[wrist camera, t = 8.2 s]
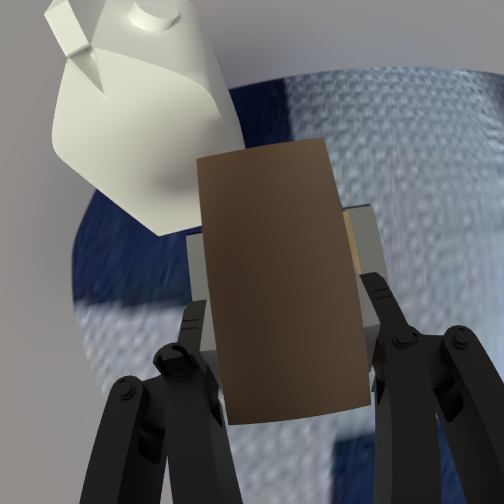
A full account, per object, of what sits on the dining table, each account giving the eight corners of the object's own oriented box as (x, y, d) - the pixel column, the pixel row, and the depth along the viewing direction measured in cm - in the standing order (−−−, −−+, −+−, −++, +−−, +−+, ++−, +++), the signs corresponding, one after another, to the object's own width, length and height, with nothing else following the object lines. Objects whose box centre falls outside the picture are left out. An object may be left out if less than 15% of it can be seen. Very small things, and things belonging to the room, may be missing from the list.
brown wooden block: (304, 233, 20) (322, 137, 9) (323, 350, 19) (370, 404, 7) (247, 242, 21) (196, 158, 9) (263, 359, 19) (228, 425, 7)
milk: (151, 147, 35) (26, -4, 9) (239, 121, 34) (175, -78, 8) (158, 236, 32) (-42, 110, 7) (259, 211, 31) (175, -28, 6)
